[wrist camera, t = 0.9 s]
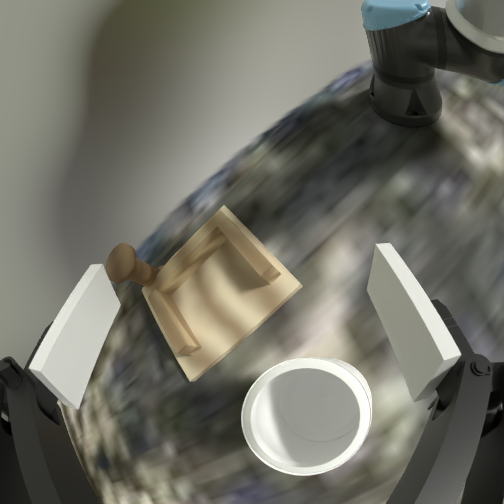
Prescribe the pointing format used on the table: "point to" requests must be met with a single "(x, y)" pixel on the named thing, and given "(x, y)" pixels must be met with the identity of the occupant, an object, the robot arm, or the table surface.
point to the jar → (307, 415)
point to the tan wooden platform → (209, 290)
